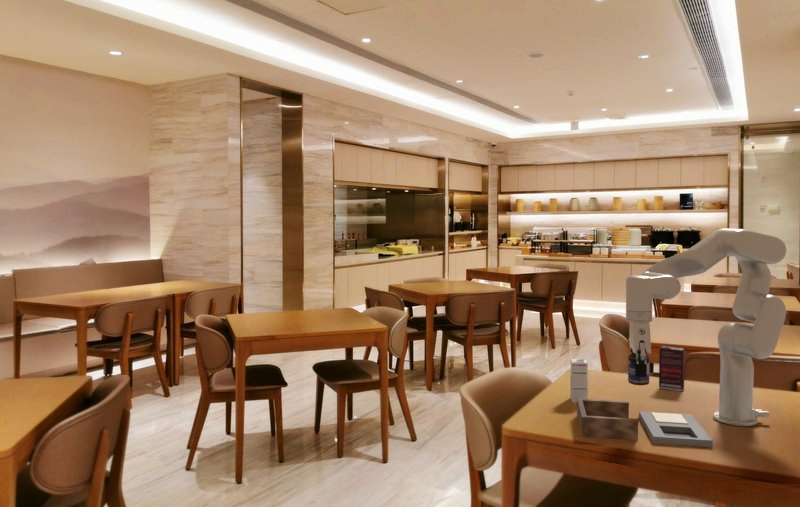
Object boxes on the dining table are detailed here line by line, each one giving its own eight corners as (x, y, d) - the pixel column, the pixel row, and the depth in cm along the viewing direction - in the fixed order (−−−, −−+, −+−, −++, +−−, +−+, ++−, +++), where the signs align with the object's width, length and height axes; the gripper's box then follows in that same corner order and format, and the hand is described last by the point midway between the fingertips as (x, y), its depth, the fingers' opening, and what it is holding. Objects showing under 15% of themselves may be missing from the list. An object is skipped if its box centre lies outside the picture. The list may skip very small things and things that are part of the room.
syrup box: (588, 403, 218) (588, 362, 217) (570, 402, 219) (571, 362, 219) (586, 398, 224) (587, 359, 223) (569, 397, 225) (570, 358, 224)
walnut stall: (627, 419, 201) (628, 401, 200) (637, 440, 182) (638, 420, 182) (576, 416, 204) (577, 398, 204) (581, 436, 185) (581, 416, 185)
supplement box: (684, 388, 237) (685, 348, 236) (682, 392, 232) (683, 350, 231) (660, 385, 241) (661, 345, 240) (658, 388, 237) (659, 347, 236)
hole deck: (691, 420, 200) (691, 413, 200) (712, 447, 177) (712, 439, 176) (638, 417, 203) (639, 410, 203) (653, 443, 180) (653, 435, 180)
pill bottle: (623, 381, 193) (623, 346, 192) (640, 379, 194) (640, 345, 194) (637, 386, 187) (637, 350, 186) (653, 384, 188) (654, 349, 188)
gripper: (657, 321, 180) (657, 381, 181) (646, 311, 197) (646, 367, 198) (630, 320, 181) (630, 380, 183) (622, 311, 198) (621, 366, 200)
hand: (638, 373), depth 190 cm, fingers closed on pill bottle, 6 cm apart
